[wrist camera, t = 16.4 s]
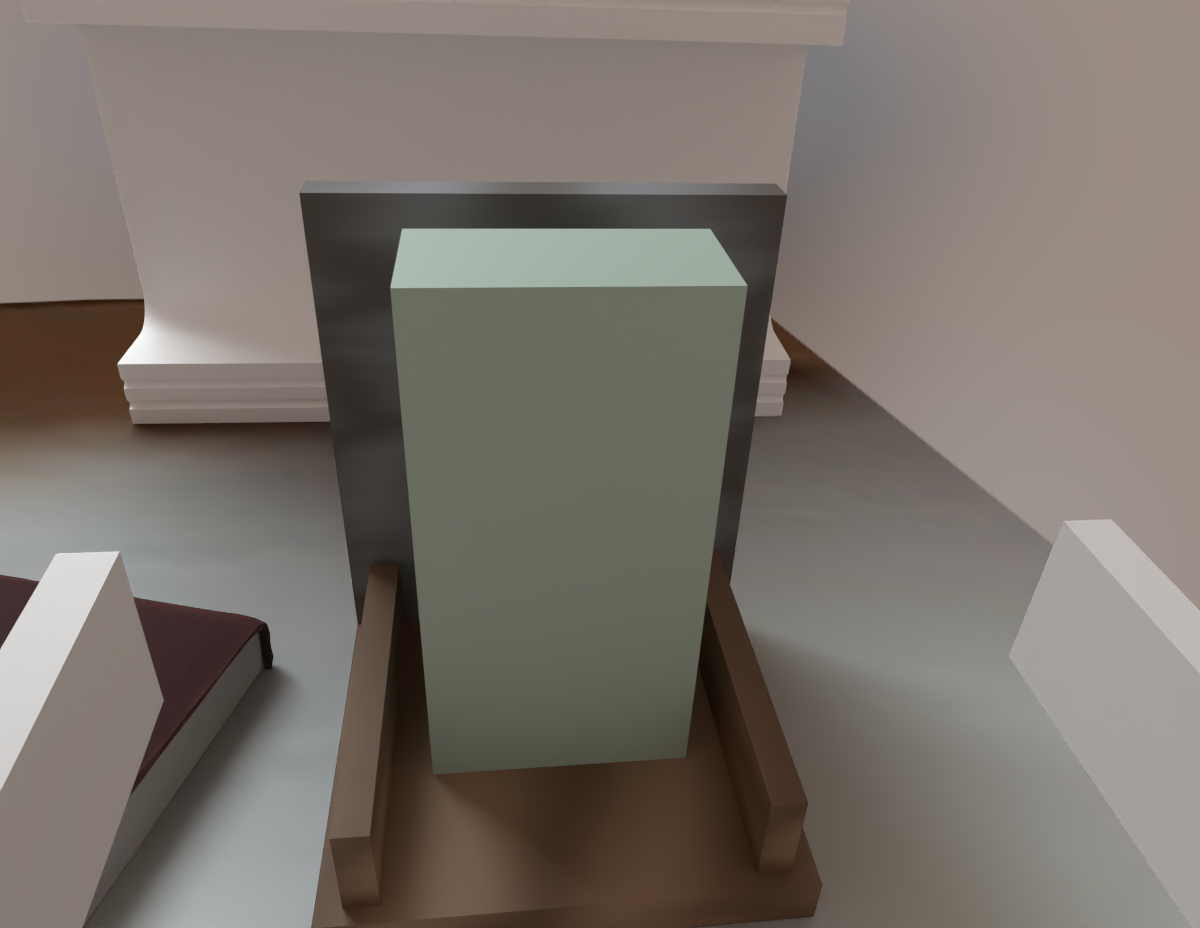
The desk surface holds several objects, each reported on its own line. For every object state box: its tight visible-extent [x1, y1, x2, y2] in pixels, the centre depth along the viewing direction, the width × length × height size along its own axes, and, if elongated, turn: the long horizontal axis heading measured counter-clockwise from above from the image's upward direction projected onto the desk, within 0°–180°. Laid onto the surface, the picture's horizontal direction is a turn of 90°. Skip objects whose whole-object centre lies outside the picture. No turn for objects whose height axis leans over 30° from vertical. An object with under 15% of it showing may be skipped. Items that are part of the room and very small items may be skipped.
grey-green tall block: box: [390, 229, 748, 774], centre depth 27 cm, size 8×4×16 cm, turn 96°
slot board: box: [299, 181, 822, 928], centre depth 27 cm, size 14×13×18 cm
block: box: [20, 0, 850, 424], centre depth 46 cm, size 35×8×28 cm, turn 95°
